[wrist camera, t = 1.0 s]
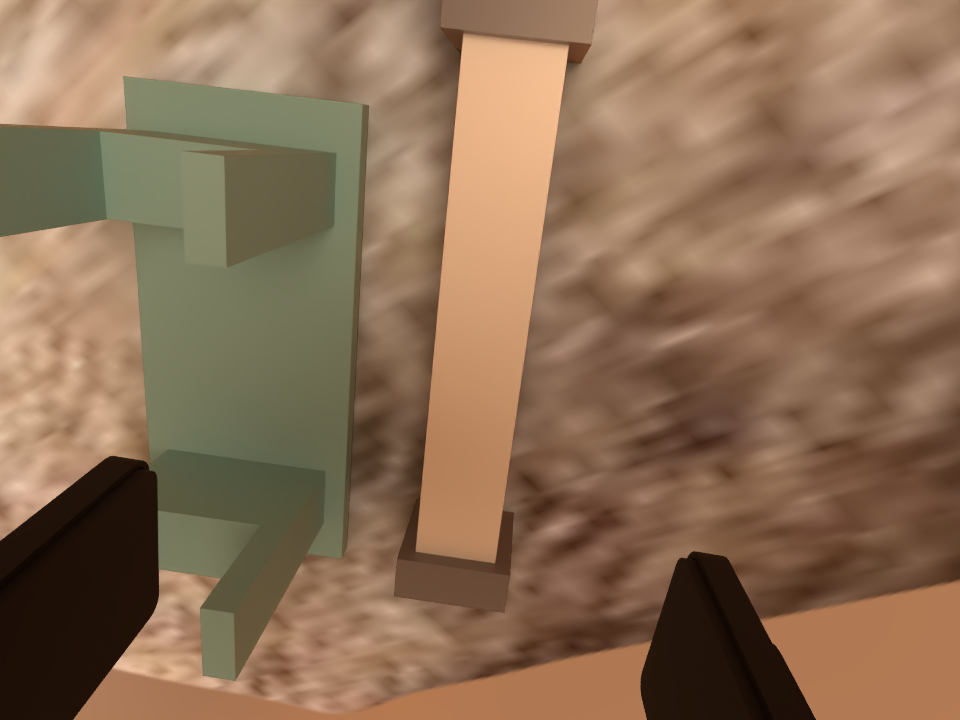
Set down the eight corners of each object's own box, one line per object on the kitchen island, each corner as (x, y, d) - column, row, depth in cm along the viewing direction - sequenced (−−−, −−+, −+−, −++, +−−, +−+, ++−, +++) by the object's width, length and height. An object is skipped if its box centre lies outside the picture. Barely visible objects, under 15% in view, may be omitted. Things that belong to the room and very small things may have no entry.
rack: (368, 105, 26) (260, 78, 16) (347, 547, 33) (262, 726, 23) (137, 78, 27) (-115, 35, 16) (165, 520, 34) (2, 685, 24)
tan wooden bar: (589, 7, 25) (602, -26, 20) (508, 545, 33) (504, 612, 28) (462, -7, 25) (445, -43, 20) (414, 531, 33) (393, 596, 28)
